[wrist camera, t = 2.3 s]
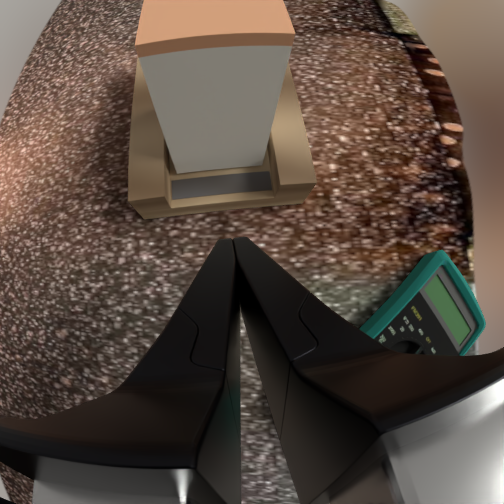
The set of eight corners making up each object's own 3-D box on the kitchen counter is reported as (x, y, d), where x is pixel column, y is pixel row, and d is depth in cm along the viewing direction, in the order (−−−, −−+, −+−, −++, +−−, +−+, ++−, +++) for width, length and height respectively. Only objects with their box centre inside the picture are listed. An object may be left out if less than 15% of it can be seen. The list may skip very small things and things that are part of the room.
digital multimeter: (269, 397, 18) (276, 412, 15) (424, 250, 20) (448, 243, 17) (334, 464, 17) (348, 483, 14) (469, 322, 20) (494, 322, 17)
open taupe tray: (302, 203, 20) (322, 175, 15) (144, 219, 19) (122, 194, 14) (272, 57, 22) (279, 18, 17) (148, 68, 21) (138, 29, 16)
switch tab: (262, 165, 18) (295, 33, 8) (177, 173, 17) (134, 45, 7) (253, 111, 19) (274, -21, 9) (175, 118, 18) (147, -12, 8)
